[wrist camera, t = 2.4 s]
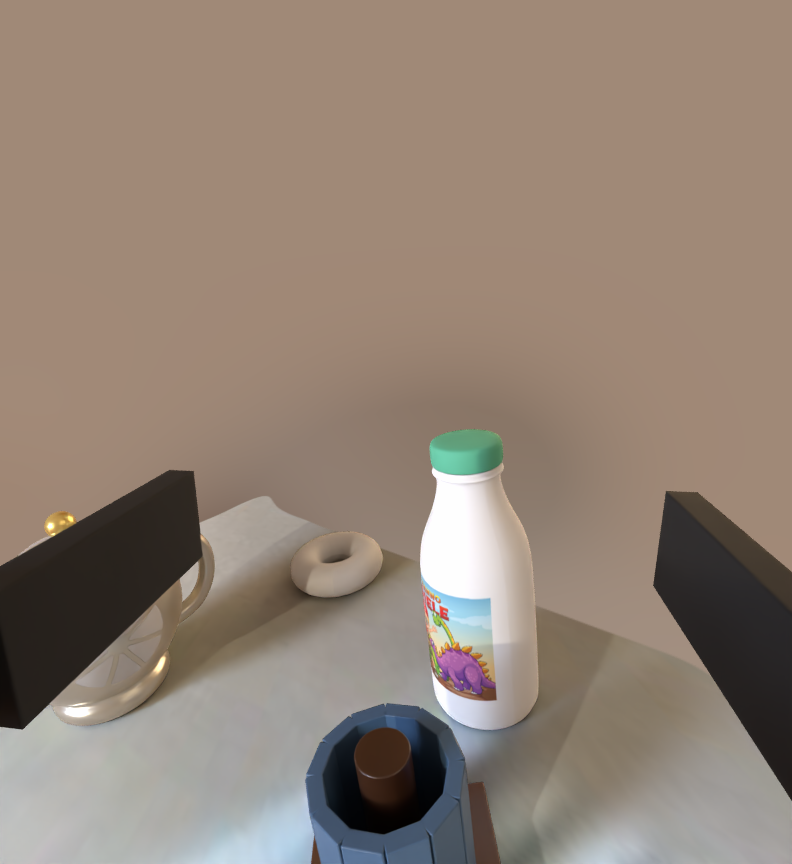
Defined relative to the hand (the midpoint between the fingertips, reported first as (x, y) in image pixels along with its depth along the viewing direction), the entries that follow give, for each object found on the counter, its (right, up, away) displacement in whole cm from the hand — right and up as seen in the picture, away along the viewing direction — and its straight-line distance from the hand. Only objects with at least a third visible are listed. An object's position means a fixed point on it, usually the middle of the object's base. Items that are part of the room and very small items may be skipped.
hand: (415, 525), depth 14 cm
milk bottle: (+6, -17, +24) cm, 30 cm away
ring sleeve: (0, -20, +12) cm, 23 cm away
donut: (-7, -13, +41) cm, 44 cm away
